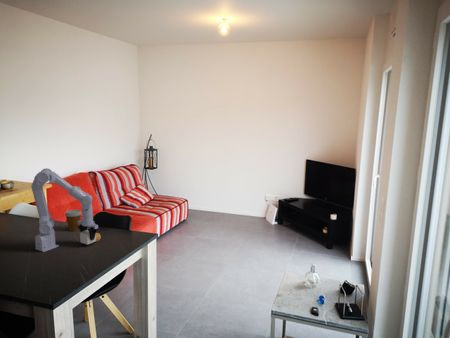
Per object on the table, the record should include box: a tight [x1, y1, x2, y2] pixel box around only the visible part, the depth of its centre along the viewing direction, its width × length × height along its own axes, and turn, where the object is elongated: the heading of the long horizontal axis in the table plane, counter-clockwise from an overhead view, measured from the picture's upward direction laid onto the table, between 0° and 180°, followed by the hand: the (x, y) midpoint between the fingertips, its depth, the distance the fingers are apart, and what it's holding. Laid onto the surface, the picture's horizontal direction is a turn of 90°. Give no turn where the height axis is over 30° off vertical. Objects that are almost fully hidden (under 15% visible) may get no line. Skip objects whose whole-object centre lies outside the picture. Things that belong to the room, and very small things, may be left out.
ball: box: [95, 232, 102, 243], centre depth 203 cm, size 5×5×5 cm
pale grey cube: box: [79, 229, 97, 245], centre depth 198 cm, size 6×6×6 cm
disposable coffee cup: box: [64, 209, 82, 232], centre depth 220 cm, size 10×10×12 cm
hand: (88, 238), depth 198 cm, fingers closed on pale grey cube, 6 cm apart
